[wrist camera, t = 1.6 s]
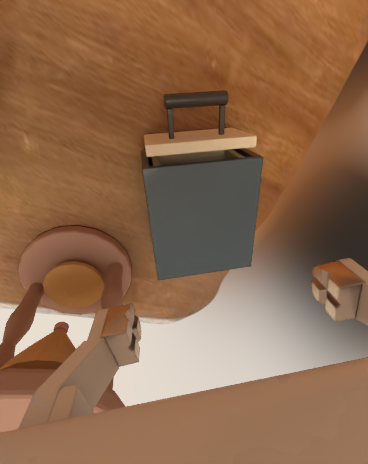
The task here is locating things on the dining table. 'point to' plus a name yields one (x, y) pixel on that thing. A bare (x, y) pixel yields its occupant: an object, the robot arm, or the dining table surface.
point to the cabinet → (203, 213)
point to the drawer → (196, 134)
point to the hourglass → (58, 309)
